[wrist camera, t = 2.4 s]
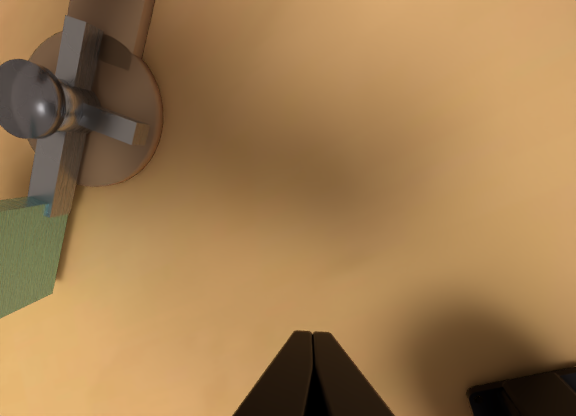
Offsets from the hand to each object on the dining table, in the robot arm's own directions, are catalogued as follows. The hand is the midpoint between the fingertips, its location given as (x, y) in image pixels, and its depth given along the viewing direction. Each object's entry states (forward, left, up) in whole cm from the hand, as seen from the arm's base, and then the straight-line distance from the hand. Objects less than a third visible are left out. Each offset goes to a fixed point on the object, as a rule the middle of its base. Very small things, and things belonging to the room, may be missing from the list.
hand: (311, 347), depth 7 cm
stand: (+14, +9, -11) cm, 20 cm away
